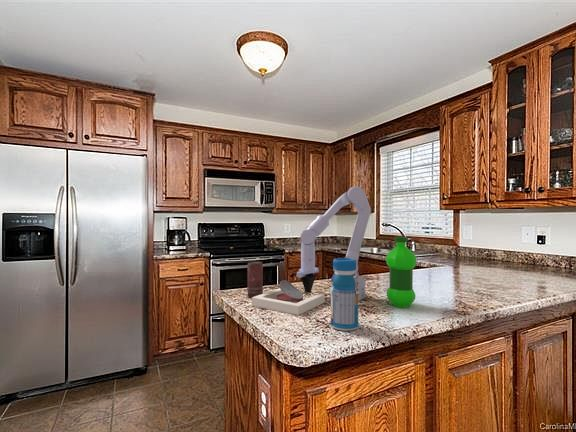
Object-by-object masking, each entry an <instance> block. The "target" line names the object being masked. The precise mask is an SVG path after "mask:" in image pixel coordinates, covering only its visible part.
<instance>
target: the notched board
mask: <svg viewBox="0 0 576 432" xmlns="http://www.w3.org/2000/svg"><path fill="white" fill-rule="evenodd" d="M279 294H284V293H283V292H282V291H281V289H280V287H279V288H276V289H273V290H270V291H267V292H263V294H261V295H258V296H255V297H252V298H251V306H253V307H256V308H257V307H258V308H261V309H266V310H272V311H277V312H280V313H285V314H290V315H296V316H300V315H302V314H304V313H306V312H308V311H310V310H312V309H314V308H316V307H319V306H320V305H322V304H324V303H325V294H323V293H316V294H314V295H312V296H310V297H308V298H307V297H306V298H305V299H303V301H300V302H298V303H292V302H287V301H281V300H277V295H279Z"/></svg>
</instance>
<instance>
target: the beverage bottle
mask: <svg viewBox="0 0 576 432" xmlns="http://www.w3.org/2000/svg"><path fill="white" fill-rule="evenodd" d="M332 268H333V271H334V273H333V275H332V277H331V278H330V284H331V286H330V288H329V289H330V290H329V294H330V326H331V327H332V329H335V330H337V331H342V332H343V331H345V332H350V331H351V332H352V331H355V330H357V329H359V301H358V296H359V289H358V284H359V282H358V279H357V276H356V275H355V273H354V271H356V260H355V259H351V258H345V257H337V258H334V259H333V261H332Z"/></svg>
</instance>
